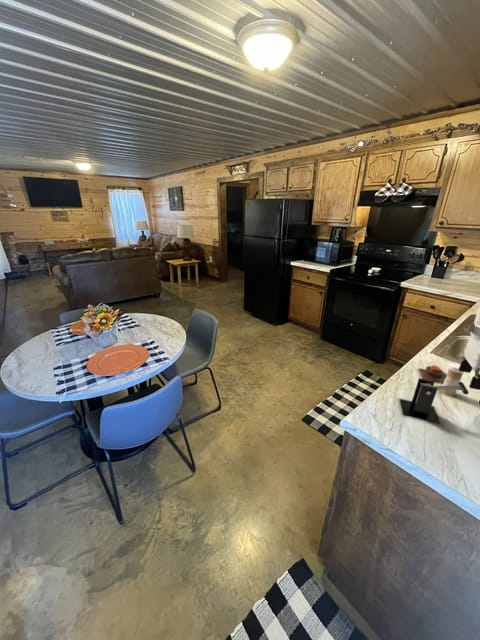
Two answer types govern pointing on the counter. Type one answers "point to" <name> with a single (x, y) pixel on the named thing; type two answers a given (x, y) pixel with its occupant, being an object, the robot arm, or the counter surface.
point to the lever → (450, 387)
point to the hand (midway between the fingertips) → (469, 379)
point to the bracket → (421, 403)
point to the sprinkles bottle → (452, 378)
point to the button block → (432, 375)
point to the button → (435, 369)
